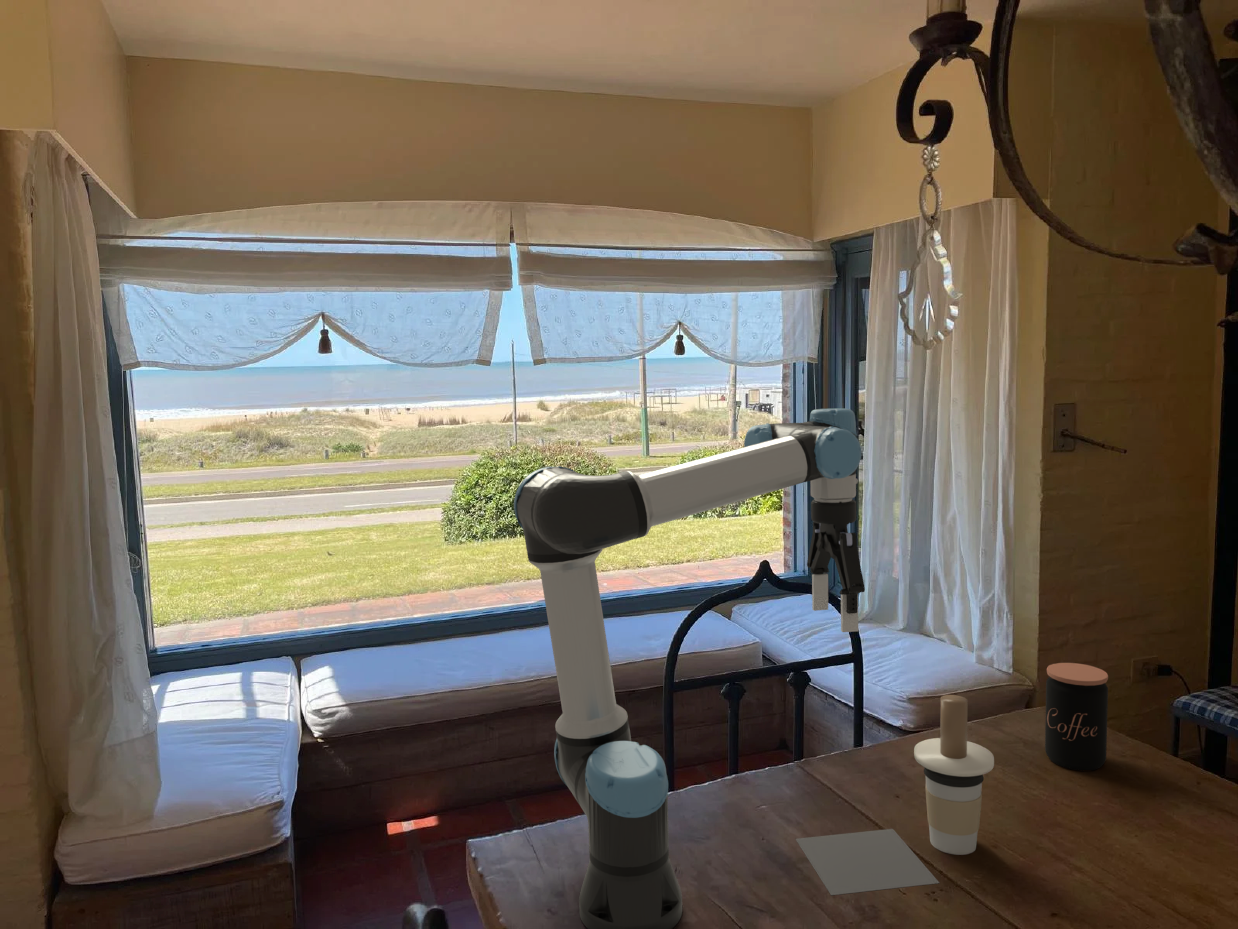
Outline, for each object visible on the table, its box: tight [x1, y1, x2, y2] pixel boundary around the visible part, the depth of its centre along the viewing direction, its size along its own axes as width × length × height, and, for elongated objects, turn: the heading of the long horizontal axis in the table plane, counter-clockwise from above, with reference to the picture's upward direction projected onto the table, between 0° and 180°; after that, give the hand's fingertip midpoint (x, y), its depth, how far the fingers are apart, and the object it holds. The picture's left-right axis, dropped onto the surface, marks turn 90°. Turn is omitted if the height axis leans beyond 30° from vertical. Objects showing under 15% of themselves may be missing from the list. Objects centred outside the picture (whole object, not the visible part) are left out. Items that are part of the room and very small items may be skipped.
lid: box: [913, 694, 995, 777], centre depth 140 cm, size 12×12×10 cm
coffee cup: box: [923, 767, 985, 856], centre depth 141 cm, size 9×9×15 cm
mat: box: [795, 828, 940, 896], centre depth 138 cm, size 17×16×1 cm
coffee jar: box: [1044, 662, 1109, 771], centre depth 171 cm, size 11×11×18 cm
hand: (834, 620), depth 152 cm, fingers open, 13 cm apart
